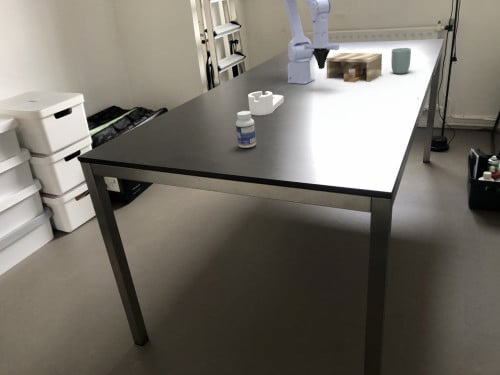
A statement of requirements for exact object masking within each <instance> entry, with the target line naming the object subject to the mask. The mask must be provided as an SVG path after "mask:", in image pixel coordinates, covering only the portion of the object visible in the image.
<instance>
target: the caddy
mask: <svg viewBox="0 0 500 375" xmlns="http://www.w3.org/2000/svg"><path fill="white" fill-rule="evenodd" d="M365 78H367V68H363V66H362V65H354V66H351V69H349V73H343V82H344V83H345V82H346V83H356V82H358V81H361V80H362V79H365Z"/></svg>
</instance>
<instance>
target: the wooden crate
mask: <svg viewBox="0 0 500 375" xmlns="http://www.w3.org/2000/svg"><path fill="white" fill-rule="evenodd" d="M382 59H383V53H365V52H363V53H361V52H360V53H359V52H356V53H355V52H353V53H352V52H339V53H337V54H336V53H335V54H333V55H331V56H327V58H326V62H325V63H326V79H332V78H333V77H335V76H337V75H340V74H349V69H351V66H354V65H362V66H363V68H367V77H366V82H368V83H370V82H372V81H374V80H375V79H377V78H379V77H381V76H382V71H383V70H382V67H383V62H382V61H383V60H382Z"/></svg>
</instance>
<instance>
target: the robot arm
mask: <svg viewBox="0 0 500 375" xmlns="http://www.w3.org/2000/svg"><path fill="white" fill-rule="evenodd" d="M303 2H304V3H305V4H306V5H307V6H308V9H309V13H310V19H311V21H312V37H313V40H312V41H313V43H312V42H311V38H308V37H307V36H306V35H305V33H304V30H303V29H304V28H303V26H302V25H303V24H302V20H301V17H300V12H299V7H298V2H297V0H283V3H284V7H285V12H286V15H287V20H288V26H289V30H290V34H291V38H292V39H291V40H290V41H289V42H288V44H287V55H288V56H287V57H288V59H289V62H288V64H287V78H288V80H287V83H288V84H301V85H302V84H303V85H305V84H309V83H311V82H312V81H315V78H312V77H311V61H312V58H313V57H314V58H315V60H316V62H317V67H318V69H319V70H323V69H325V66H326V63H327V62H326V58H328V57H329V56H328V55H329V53H330V51H331V50H333V51H338V50H340V44H339V43H329V14H330V13H331V10H332V5H331V0H303Z"/></svg>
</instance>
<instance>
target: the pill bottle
mask: <svg viewBox="0 0 500 375" xmlns="http://www.w3.org/2000/svg"><path fill="white" fill-rule="evenodd" d="M236 117H237V118H236V119H237V120H236V122H235V128H236V136H237V144H238V146H239V147H240V148H252V147H254V146H255V145H257V137H256V135H257V134H256V126H255V125H256V124H255V120H254V119H253V118H252V114H251V112H250V110H242V111H239V112H236Z"/></svg>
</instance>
